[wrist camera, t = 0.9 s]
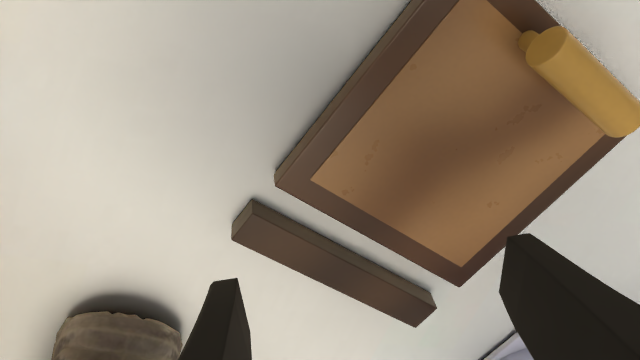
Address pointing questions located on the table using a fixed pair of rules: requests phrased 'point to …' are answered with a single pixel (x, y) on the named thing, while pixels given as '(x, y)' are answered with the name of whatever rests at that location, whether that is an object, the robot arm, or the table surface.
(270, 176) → the table surface
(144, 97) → the table surface
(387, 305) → the frame stand
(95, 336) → the hiking shoe
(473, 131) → the picture frame
